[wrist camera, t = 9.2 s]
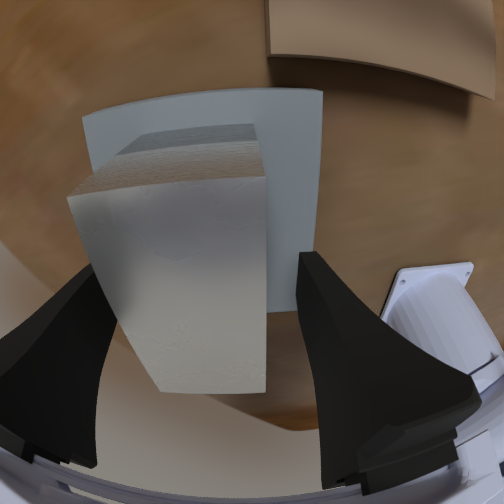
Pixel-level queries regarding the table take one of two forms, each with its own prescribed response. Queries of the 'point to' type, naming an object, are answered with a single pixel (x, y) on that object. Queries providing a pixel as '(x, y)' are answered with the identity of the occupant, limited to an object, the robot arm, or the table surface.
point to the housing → (184, 254)
